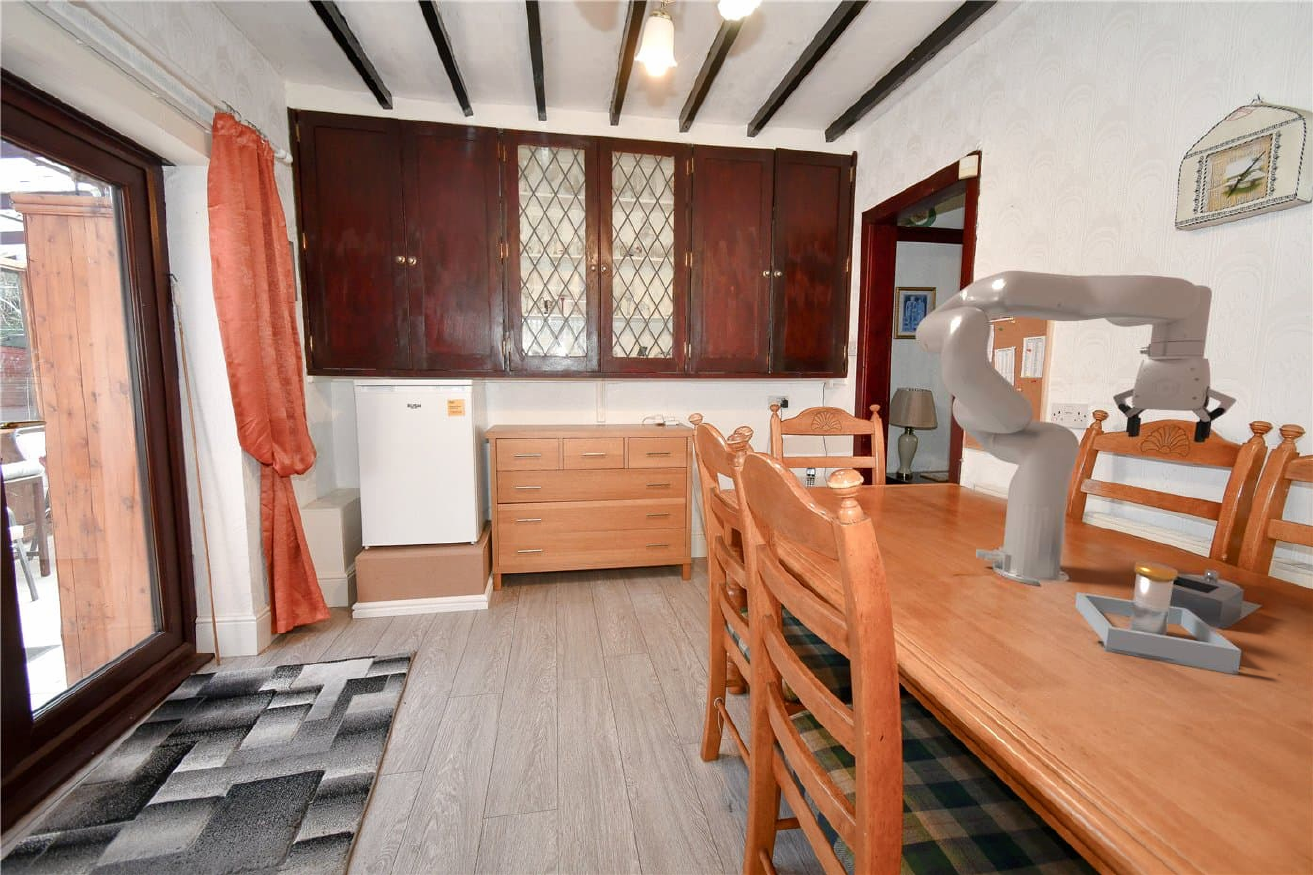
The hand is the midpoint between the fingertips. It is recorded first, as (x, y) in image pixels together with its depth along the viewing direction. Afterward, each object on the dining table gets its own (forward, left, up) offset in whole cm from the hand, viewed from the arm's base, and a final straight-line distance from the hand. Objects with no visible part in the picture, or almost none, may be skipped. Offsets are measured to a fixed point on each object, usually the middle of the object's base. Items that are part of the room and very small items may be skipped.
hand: (1165, 439), depth 100 cm
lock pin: (-12, -34, -28) cm, 45 cm away
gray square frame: (-12, -34, -28) cm, 46 cm away
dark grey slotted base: (+1, -16, -28) cm, 33 cm away
